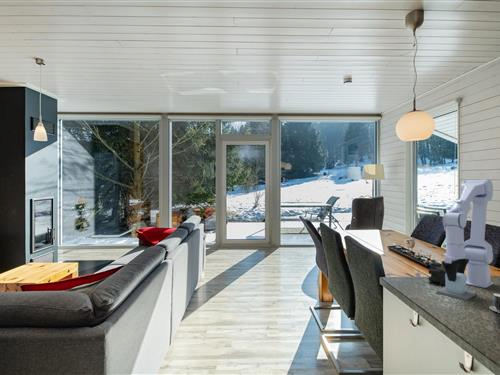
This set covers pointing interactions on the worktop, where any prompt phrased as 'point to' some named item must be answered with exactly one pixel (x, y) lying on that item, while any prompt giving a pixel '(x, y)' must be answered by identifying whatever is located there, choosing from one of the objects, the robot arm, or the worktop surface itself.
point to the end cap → (437, 275)
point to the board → (464, 296)
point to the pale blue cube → (456, 284)
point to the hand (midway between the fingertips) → (455, 279)
